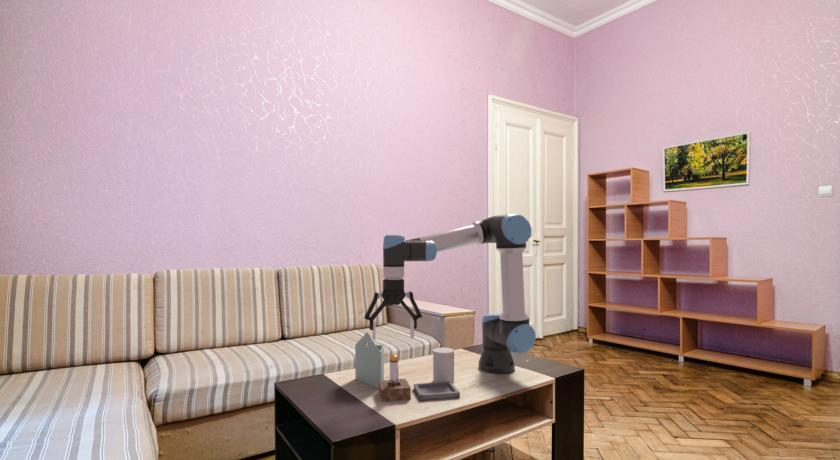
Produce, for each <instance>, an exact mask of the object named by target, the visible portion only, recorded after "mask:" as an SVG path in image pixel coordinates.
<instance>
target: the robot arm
mask: <svg viewBox="0 0 840 460" xmlns="http://www.w3.org/2000/svg"><path fill="white" fill-rule="evenodd" d="M531 235H532V227H531V224H530V222H529V220H528V219H527V218H526V217H525V216H523V215H522V214H517V213H509V214H498V215H497V214H496V215H493V216H490V217H487V218H483V219H481V220H478V221H473V222H472V224H471V225H467V226H463V227H459V228H454V229H449V230H445V231H441V232H437V233H432V234H428V235H424V236H420V237H416V238H411V239H405V235H403V234H401V235H399V234H387V235H385V236H384V237H383V242H382V244H383V245H382V257H383V258H382V259H383V262H382V265H383V267H382V273H383V274H382V277H383V280H382V292H377V291H374V293H373V298H372V300H371V302H370V304H369V306H368V308H367V310H366V312H365V315H364V320H367V321H369V330H370V331H372V340H373V341H376V336H377V335H376V329H377V327H376V324H377V322H376V320H375V319H376V317H378V315H380V313H381V312H382V310H384V308H385V307H386V306H387V305H389V306H399V305H401V306H402V307H403V309H404V310H406V312H407V313H408V314H409V315H410V316H411V317H412V318H410V323H409V324H410V326H409V327H410V331H409V333H410V336H409V337H410V338H411V339H415V329H417V328H418V324H417V323H418V320H419V319H420V318H423V314H422V313H421V311H420V309H419V306H418V305H417V302H416V300H415V298H414V293H413V292H412V291H408V292H407V291H406V292H405V279H404V277H405V262H432V261H434V260H436V257H437V254H438V253H440V252H445V251H448V250H452V249H456V248H460V247H461V248H462V247H465V246H469V245H472V244H477V245H483V244H495V248H496V250H497V251H498V252H499V254H500V273H501V274H500V276H501V301H502V313H501V312H500V313H487V314H484V315H483V316H482V318H481V319H482V320H481V325H482V327H481V328H482V329H481V331H482V337H481V338H482V349H481V352H480V353H481V354H480V356H479V360H478V369H479V370H480V371H482V372H485V373H490V374H509V373H513V372H514V371H515V368H516V365H515V361H514V358H513V354H512V353H515V354H525V353H527V352H529V351H530V350H531V349H532V348H533V346H534V344H535V343H536V339H537V337H536V336H537V334H536V331H535V329H534V328H533V327H532V326H531V325H530V316H529V315H528V314H527V313H526V310H525V309H526V308H525V306H526V305H525V283H524V279H525V278H524V259H523V252H524V251H525V250H526V248H527V242H528V241H529V239H530V237H531ZM381 297H382V299H383V300H382V302H381V303H380V304H379V305H378V307H377V308H376V309H375V310H374V307H375V306H376V303H377V301H378V300H379V299H380V298H381ZM405 297H406V298H407V299H409V301H410V303H411V305H412V307H413V310H414V311H415V313H414V312H413V311H412V310H411V308H410V307H409V305H407V304H406V303H405V301H404V299H405ZM373 310H374V311H373ZM372 312H373V313H372Z"/></svg>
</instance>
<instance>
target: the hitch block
mask: <svg viewBox="0 0 840 460" xmlns="http://www.w3.org/2000/svg"><path fill="white" fill-rule="evenodd" d="M377 390H378V394H379V397H380V401H381V402H382V403H383V402H394V401H396V402H397V401H407V400H408V401H409V400H411V398H412V397H411V395H412V394H411V392H412V391H411V390H412V389H411V386H410V384H409V382H408V380H407V378H398V386H390V379H384V380H379V381H378V389H377Z"/></svg>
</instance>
